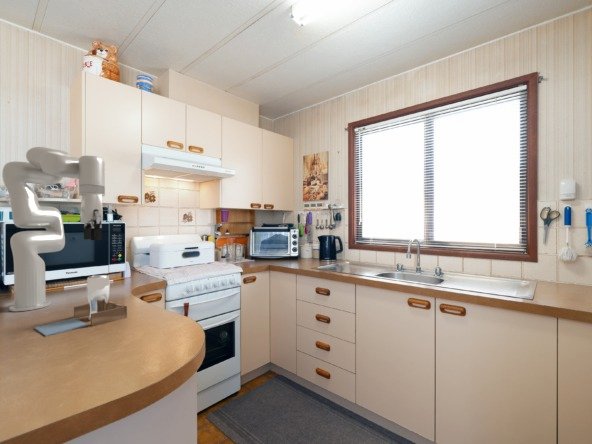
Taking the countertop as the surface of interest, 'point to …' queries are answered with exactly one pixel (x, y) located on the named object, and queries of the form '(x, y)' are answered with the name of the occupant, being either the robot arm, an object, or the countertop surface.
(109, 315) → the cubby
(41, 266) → the robot arm
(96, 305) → the beer glass
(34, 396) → the countertop surface
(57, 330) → the mat
